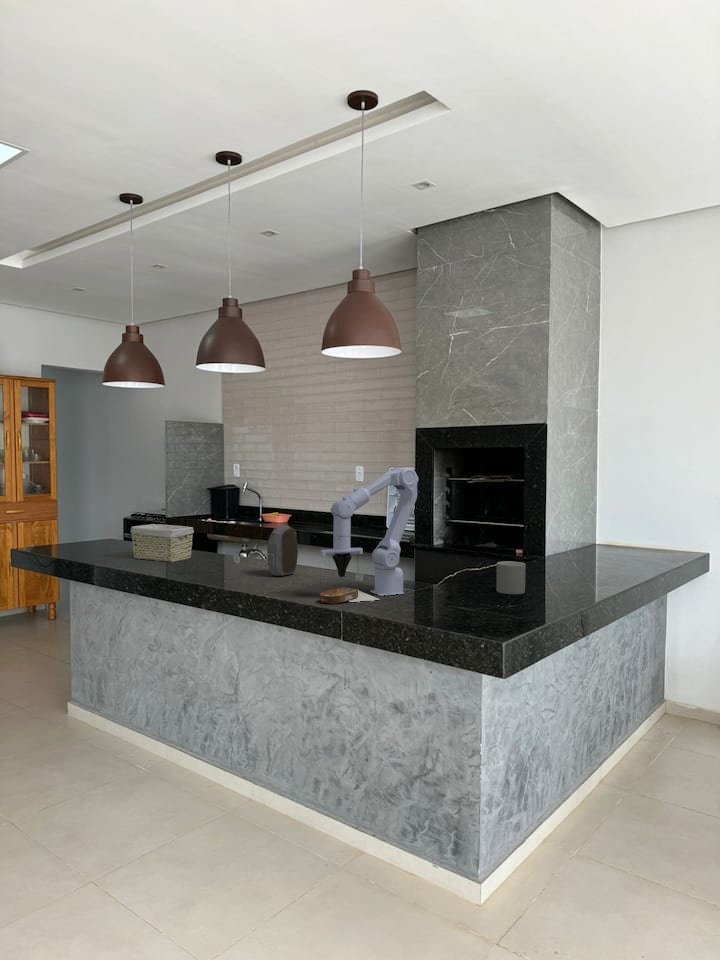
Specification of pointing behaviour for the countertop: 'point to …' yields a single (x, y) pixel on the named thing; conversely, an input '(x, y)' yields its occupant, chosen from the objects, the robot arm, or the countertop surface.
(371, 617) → the countertop surface
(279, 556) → the soft grey pack
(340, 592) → the tin
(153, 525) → the storage basket
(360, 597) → the grey mat
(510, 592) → the coffee mug
